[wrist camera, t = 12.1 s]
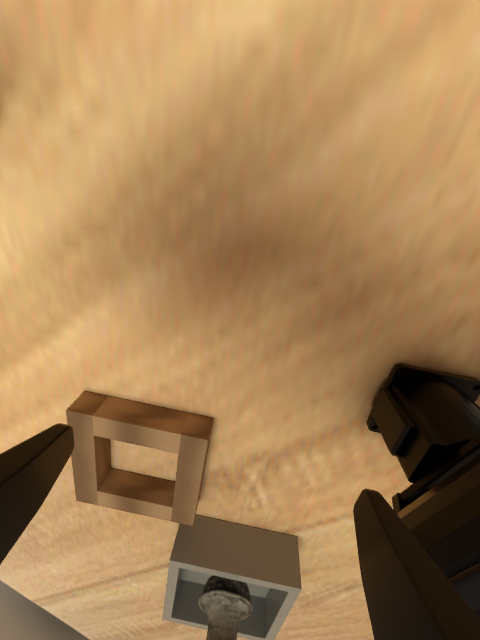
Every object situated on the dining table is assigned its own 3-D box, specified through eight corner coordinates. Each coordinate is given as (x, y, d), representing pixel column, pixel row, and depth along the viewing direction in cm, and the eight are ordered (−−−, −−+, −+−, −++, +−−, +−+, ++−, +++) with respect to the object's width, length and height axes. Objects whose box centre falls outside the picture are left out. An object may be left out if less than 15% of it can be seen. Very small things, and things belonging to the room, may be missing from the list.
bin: (297, 536, 30) (301, 589, 26) (271, 593, 36) (271, 644, 32) (183, 512, 31) (169, 560, 27) (174, 571, 36) (162, 619, 32)
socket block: (213, 418, 25) (207, 440, 22) (198, 500, 30) (192, 526, 27) (84, 391, 25) (66, 410, 23) (91, 477, 30) (76, 500, 28)
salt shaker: (257, 555, 31) (250, 749, 20) (252, 582, 33) (243, 769, 22) (205, 547, 31) (171, 733, 20) (204, 574, 34) (173, 754, 23)
